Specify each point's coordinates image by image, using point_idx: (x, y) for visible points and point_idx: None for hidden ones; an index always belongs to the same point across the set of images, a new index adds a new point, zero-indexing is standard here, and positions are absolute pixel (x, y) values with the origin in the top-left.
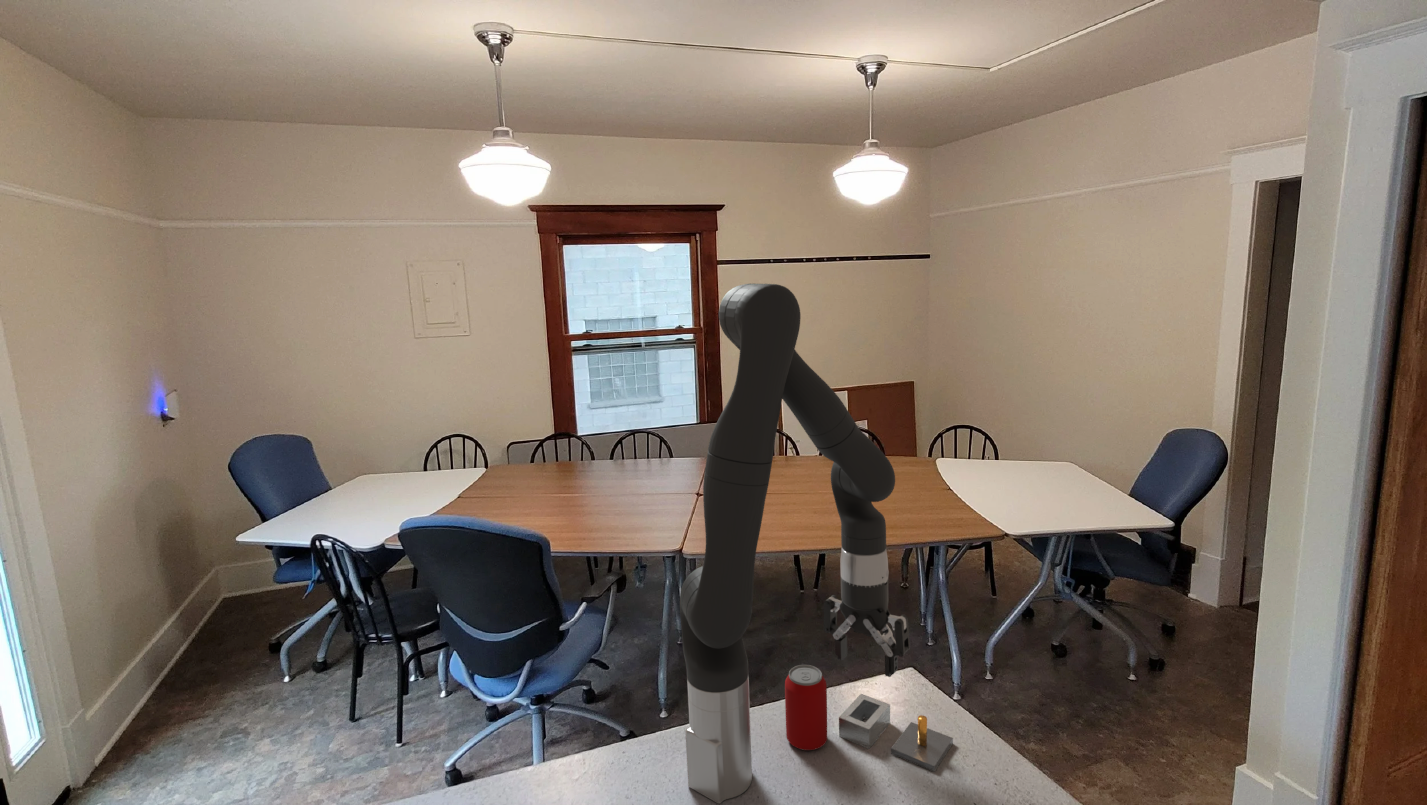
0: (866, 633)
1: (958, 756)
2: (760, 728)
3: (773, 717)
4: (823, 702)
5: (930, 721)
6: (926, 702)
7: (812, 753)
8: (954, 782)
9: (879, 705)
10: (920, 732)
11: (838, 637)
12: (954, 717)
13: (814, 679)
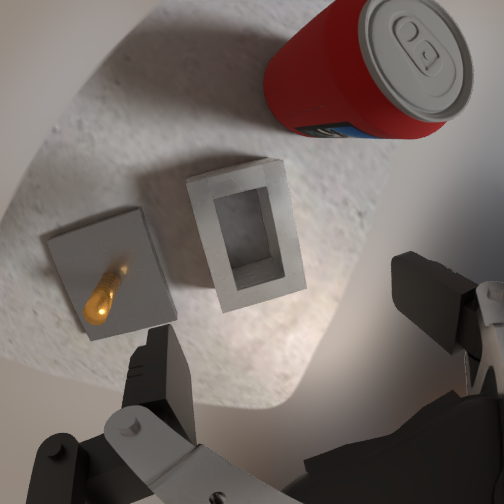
0: (357, 458)
1: (62, 311)
2: None
3: None
4: (304, 65)
5: None
6: (215, 388)
7: None
8: (17, 245)
9: (239, 289)
10: (99, 287)
11: (484, 296)
12: None
13: (382, 41)
